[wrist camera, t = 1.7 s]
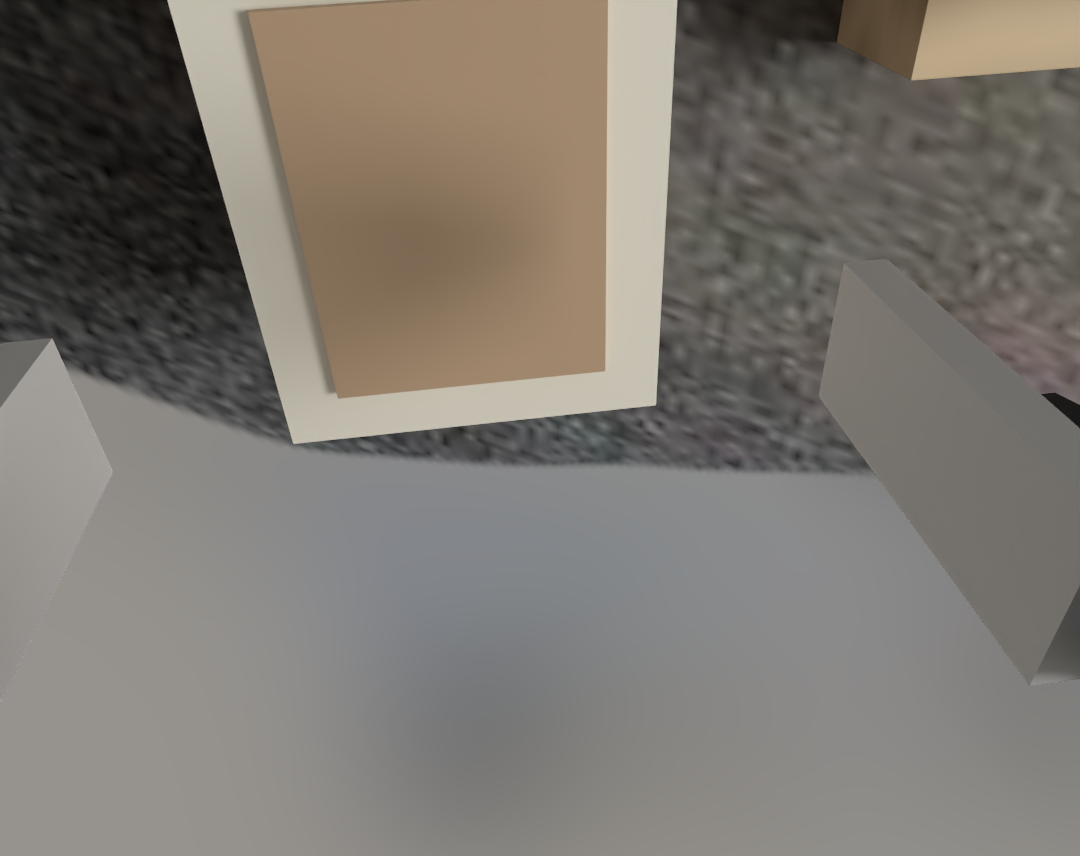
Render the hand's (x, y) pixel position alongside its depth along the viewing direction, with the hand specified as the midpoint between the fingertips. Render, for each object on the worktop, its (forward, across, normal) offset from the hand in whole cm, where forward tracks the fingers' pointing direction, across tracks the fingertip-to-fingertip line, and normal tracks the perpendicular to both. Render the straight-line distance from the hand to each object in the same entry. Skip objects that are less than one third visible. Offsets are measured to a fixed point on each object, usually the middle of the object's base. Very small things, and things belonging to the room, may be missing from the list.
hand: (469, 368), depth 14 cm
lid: (+8, 0, 0) cm, 9 cm away
